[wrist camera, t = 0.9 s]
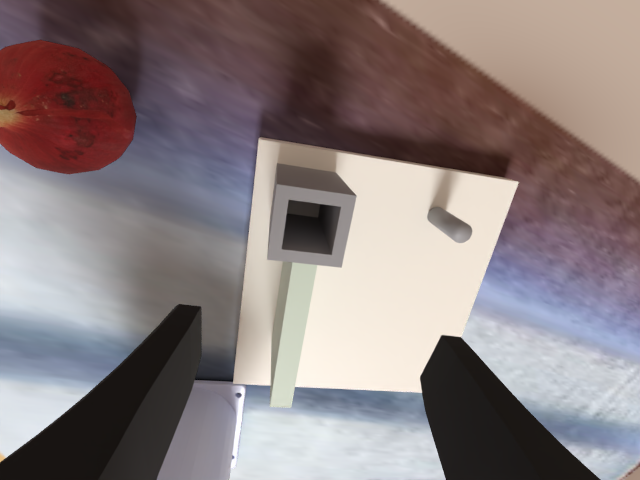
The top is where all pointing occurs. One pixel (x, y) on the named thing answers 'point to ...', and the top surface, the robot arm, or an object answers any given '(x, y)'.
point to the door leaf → (302, 260)
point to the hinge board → (374, 268)
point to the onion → (62, 108)
